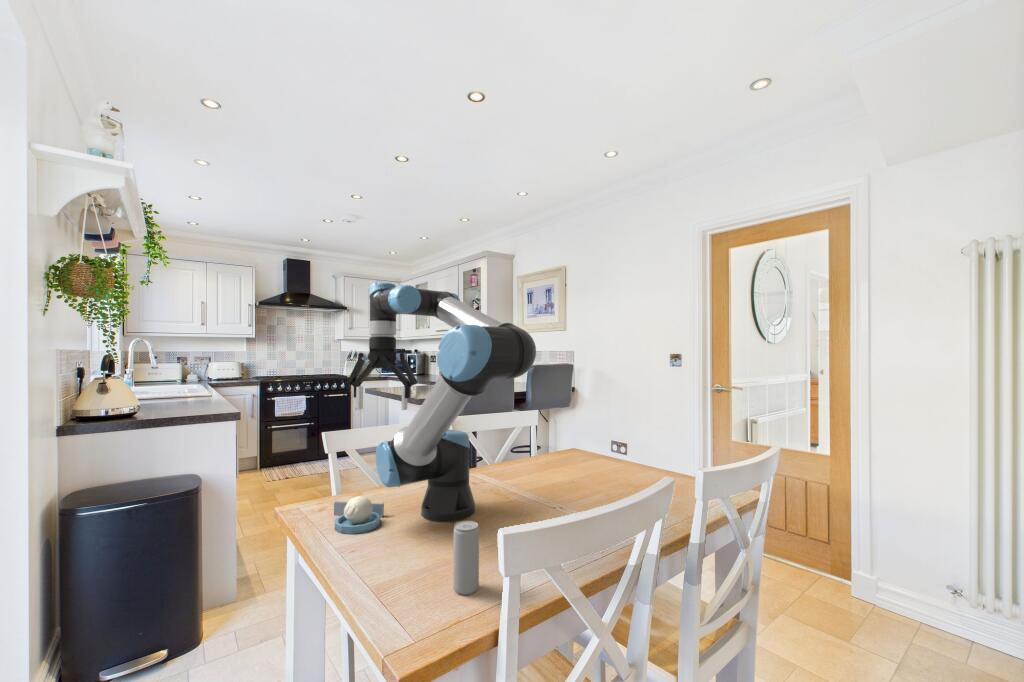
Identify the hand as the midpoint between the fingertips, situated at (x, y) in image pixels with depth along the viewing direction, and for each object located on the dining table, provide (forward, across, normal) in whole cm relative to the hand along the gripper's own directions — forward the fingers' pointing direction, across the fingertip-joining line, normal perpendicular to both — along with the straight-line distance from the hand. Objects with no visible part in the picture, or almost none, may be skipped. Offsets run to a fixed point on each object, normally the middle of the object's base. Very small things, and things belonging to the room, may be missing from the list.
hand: (381, 409), depth 128 cm
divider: (+29, +4, +5) cm, 29 cm away
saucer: (+29, +1, +12) cm, 31 cm away
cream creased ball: (+28, +1, +12) cm, 31 cm away
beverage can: (+29, -34, +40) cm, 60 cm away
